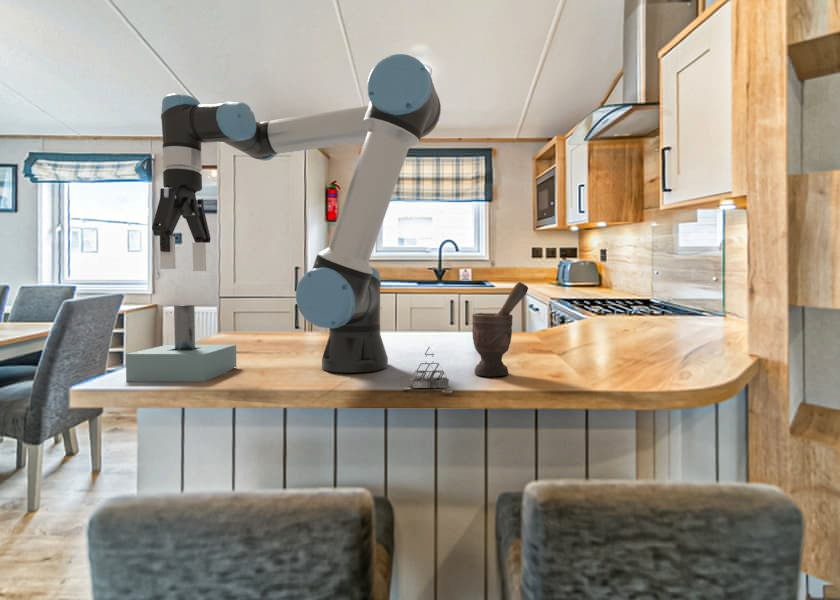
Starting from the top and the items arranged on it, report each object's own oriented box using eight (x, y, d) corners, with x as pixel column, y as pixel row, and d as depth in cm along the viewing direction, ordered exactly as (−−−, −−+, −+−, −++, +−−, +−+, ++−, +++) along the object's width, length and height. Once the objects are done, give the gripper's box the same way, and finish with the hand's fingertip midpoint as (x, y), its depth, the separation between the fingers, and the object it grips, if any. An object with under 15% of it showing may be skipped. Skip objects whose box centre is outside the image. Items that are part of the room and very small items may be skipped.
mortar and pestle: (523, 371, 110) (524, 282, 109) (529, 378, 101) (529, 281, 100) (471, 371, 111) (472, 282, 110) (472, 378, 102) (472, 282, 101)
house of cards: (404, 393, 88) (404, 351, 88) (401, 384, 97) (401, 345, 97) (453, 392, 89) (453, 350, 89) (446, 383, 98) (446, 345, 98)
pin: (199, 368, 108) (198, 305, 108) (186, 371, 104) (185, 305, 104) (184, 367, 109) (183, 304, 109) (170, 370, 105) (169, 305, 105)
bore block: (236, 368, 114) (236, 344, 114) (204, 381, 98) (204, 354, 98) (168, 368, 115) (168, 344, 115) (126, 381, 99) (125, 353, 99)
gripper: (193, 183, 118) (195, 271, 119) (129, 155, 93) (132, 267, 94) (224, 183, 118) (226, 271, 118) (168, 155, 93) (171, 267, 93)
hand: (184, 270), depth 106 cm, fingers open, 13 cm apart
